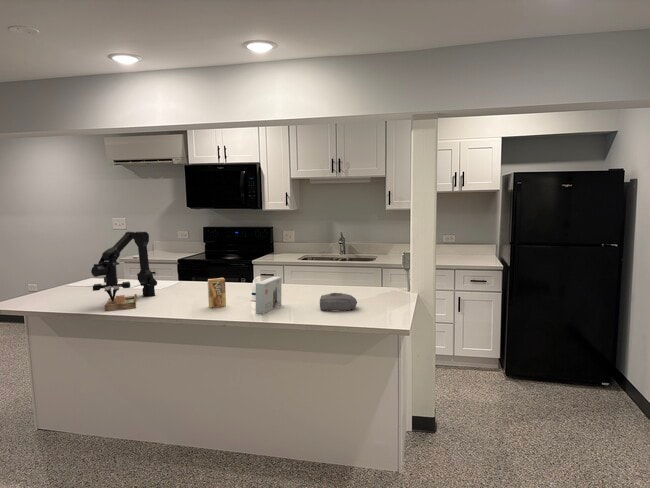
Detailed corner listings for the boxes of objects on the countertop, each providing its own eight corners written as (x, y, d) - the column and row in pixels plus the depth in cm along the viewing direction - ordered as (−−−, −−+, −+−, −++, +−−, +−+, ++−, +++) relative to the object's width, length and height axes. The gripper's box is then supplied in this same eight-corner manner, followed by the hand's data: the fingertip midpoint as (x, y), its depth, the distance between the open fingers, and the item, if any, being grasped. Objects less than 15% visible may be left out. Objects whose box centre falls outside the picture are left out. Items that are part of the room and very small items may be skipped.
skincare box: (264, 314, 230) (263, 283, 228) (255, 313, 232) (254, 283, 230) (282, 304, 250) (281, 276, 248) (273, 303, 252) (272, 275, 250)
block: (125, 300, 256) (124, 295, 256) (124, 302, 252) (124, 296, 252) (116, 301, 255) (115, 295, 254) (115, 303, 250) (115, 297, 250)
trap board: (136, 299, 268) (136, 293, 268) (135, 308, 247) (135, 302, 246) (109, 301, 263) (108, 296, 262) (105, 311, 241) (105, 305, 241)
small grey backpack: (318, 312, 233) (357, 312, 231) (318, 296, 232) (357, 296, 230) (320, 305, 248) (357, 305, 246) (320, 290, 247) (357, 290, 245)
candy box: (224, 304, 252) (223, 277, 250) (226, 306, 248) (225, 278, 246) (208, 306, 248) (207, 279, 246) (210, 308, 244) (208, 280, 242)
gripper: (130, 270, 261) (131, 296, 263) (94, 272, 254) (95, 299, 256) (129, 273, 250) (130, 300, 252) (91, 275, 244) (93, 304, 246)
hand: (112, 301), depth 252 cm, fingers closed
